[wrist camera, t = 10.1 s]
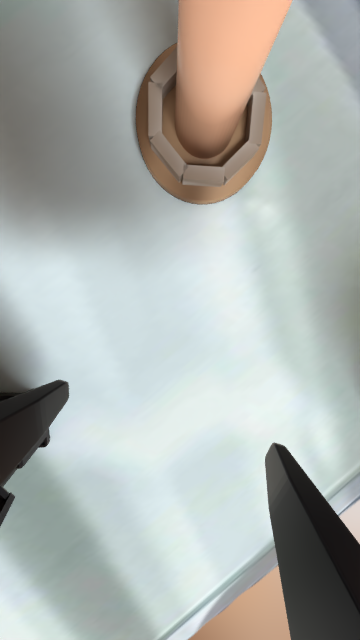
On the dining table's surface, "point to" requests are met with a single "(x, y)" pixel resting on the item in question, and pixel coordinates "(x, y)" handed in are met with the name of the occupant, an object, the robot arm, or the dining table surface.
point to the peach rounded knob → (220, 66)
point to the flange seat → (175, 162)
